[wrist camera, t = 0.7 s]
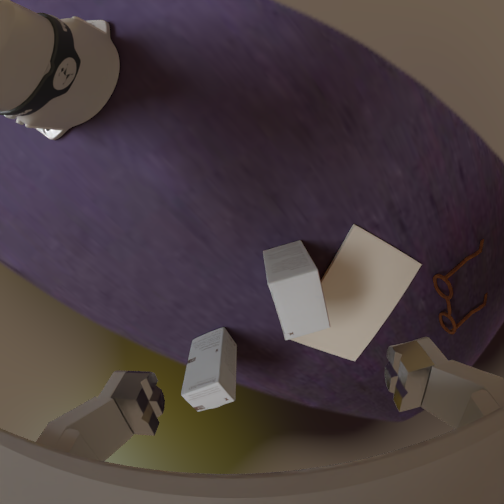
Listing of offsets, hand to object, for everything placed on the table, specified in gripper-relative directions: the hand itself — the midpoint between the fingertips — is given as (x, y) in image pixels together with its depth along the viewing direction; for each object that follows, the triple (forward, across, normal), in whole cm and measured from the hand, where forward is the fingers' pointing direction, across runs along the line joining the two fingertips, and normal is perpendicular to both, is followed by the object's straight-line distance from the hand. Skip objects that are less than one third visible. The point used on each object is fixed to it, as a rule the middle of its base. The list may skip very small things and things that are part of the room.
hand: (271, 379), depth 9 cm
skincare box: (+32, +10, +19) cm, 39 cm away
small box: (+32, -2, +8) cm, 33 cm away
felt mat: (+33, -12, +15) cm, 38 cm away
